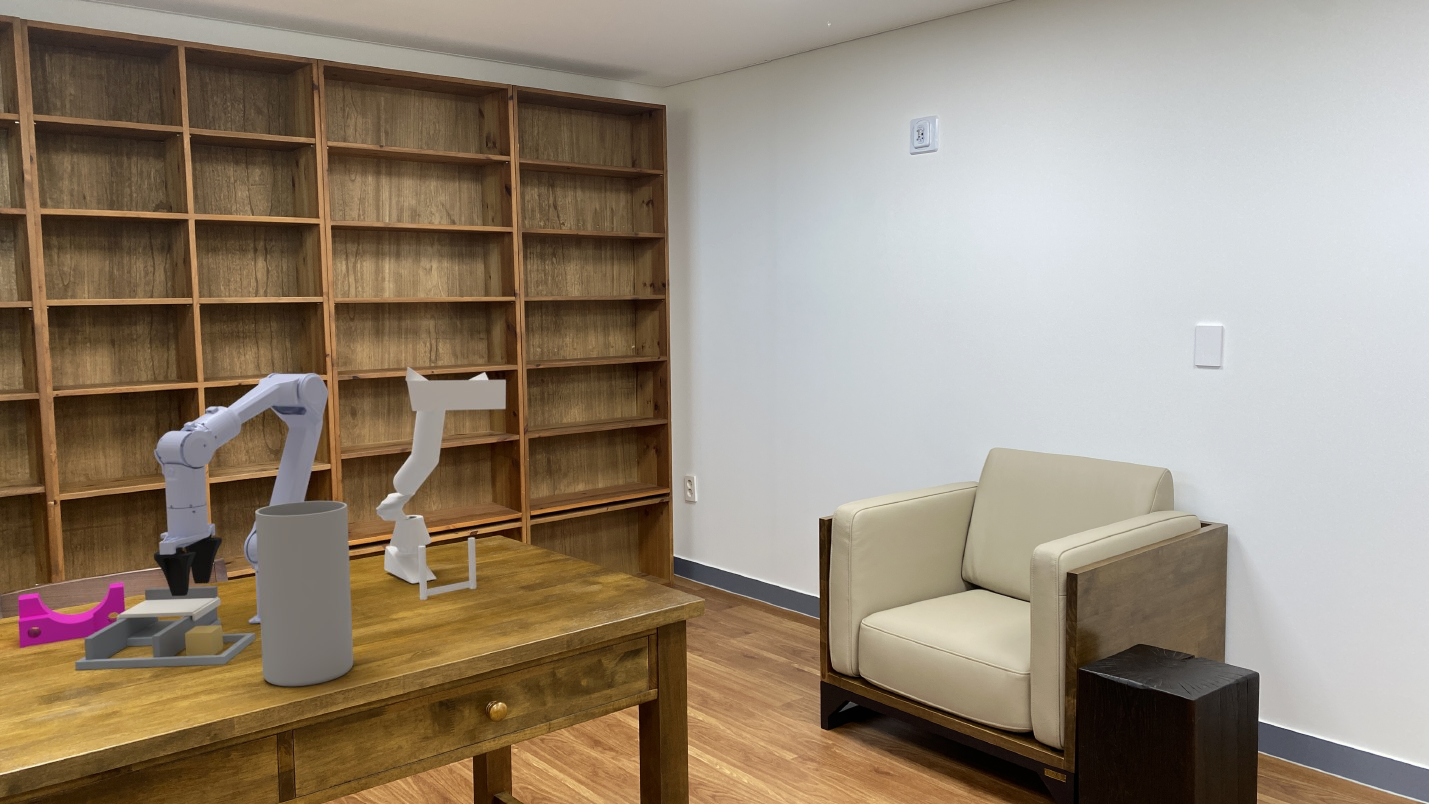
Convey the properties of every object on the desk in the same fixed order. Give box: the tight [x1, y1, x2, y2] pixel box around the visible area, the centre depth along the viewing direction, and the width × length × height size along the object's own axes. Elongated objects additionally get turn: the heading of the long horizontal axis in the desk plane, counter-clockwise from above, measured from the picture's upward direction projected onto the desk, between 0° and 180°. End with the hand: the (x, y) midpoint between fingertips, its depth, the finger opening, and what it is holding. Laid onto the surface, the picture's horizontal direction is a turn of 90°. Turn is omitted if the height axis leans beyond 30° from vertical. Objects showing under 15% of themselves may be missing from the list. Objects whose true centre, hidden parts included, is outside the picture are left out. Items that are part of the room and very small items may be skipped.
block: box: [185, 624, 224, 656], centre depth 156 cm, size 4×4×4 cm
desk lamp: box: [375, 366, 507, 601], centre depth 188 cm, size 38×18×45 cm, turn 42°
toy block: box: [17, 581, 126, 649], centre depth 166 cm, size 15×6×8 cm, turn 123°
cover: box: [116, 585, 222, 621], centre depth 165 cm, size 12×10×3 cm
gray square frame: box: [74, 606, 256, 671], centre depth 160 cm, size 22×22×4 cm
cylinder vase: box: [254, 500, 354, 687], centre depth 145 cm, size 12×12×25 cm
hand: (191, 589), depth 157 cm, fingers open, 7 cm apart
